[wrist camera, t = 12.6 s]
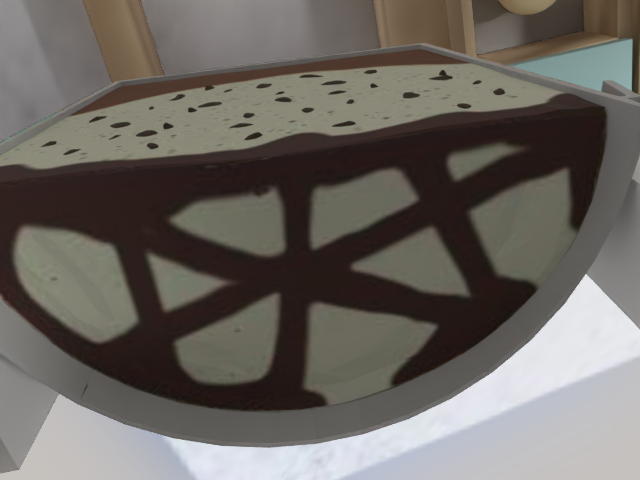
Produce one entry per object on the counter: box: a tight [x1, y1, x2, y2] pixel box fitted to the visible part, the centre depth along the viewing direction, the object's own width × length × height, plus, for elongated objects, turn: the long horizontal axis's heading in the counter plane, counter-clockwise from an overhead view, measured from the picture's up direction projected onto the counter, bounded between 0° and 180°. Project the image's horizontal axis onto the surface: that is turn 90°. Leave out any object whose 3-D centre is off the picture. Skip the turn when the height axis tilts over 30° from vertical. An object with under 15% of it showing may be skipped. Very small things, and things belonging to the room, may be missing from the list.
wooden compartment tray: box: [83, 0, 640, 95], centre depth 26 cm, size 24×18×4 cm
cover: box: [507, 38, 633, 91], centre depth 25 cm, size 7×7×4 cm
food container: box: [0, 43, 640, 448], centre depth 14 cm, size 12×6×10 cm, turn 96°
